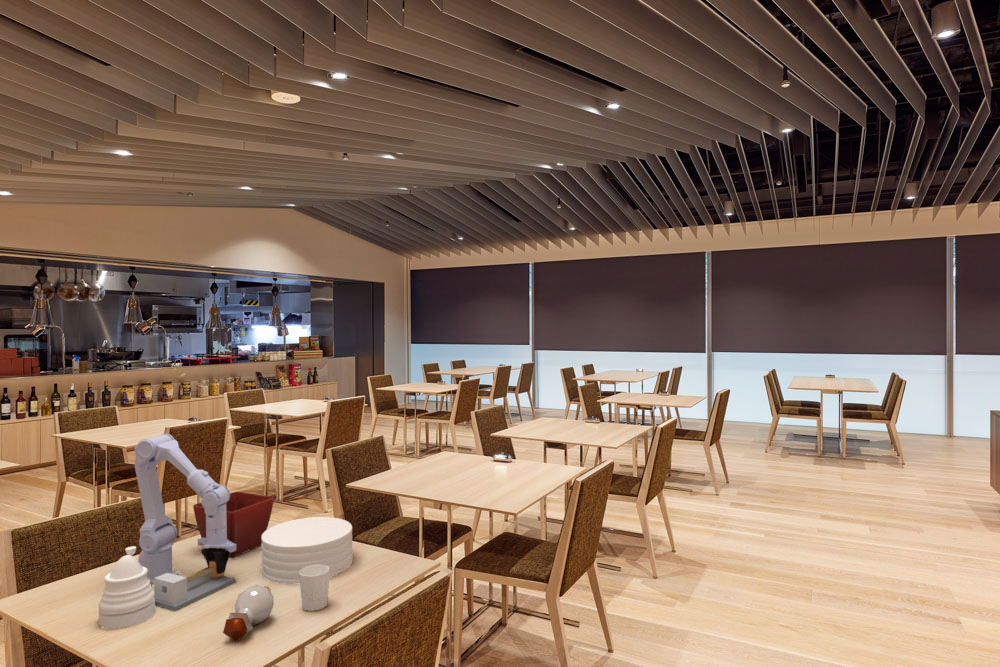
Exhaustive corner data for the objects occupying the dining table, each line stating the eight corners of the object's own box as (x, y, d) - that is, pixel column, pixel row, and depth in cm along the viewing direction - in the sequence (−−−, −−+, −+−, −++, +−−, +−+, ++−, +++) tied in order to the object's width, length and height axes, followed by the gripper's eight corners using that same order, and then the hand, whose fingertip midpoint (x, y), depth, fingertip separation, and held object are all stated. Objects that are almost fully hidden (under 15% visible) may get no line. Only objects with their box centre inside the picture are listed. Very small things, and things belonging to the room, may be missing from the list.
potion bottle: (269, 617, 163) (242, 653, 149) (239, 597, 163) (209, 631, 148) (286, 591, 162) (261, 626, 147) (256, 571, 162) (228, 603, 147)
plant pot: (276, 543, 215) (275, 496, 215) (232, 562, 198) (232, 512, 198) (237, 536, 223) (236, 491, 223) (192, 554, 206) (191, 505, 205)
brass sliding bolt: (182, 589, 175) (182, 572, 175) (217, 573, 186) (217, 557, 186) (189, 591, 173) (189, 573, 173) (224, 575, 184) (224, 558, 184)
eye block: (146, 602, 170) (146, 578, 169) (207, 575, 188) (207, 553, 188) (175, 611, 164) (175, 585, 164) (235, 582, 183) (235, 559, 182)
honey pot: (120, 605, 168) (118, 542, 168) (165, 606, 168) (163, 542, 167) (87, 629, 155) (85, 560, 155) (135, 629, 155) (134, 560, 154)
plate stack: (370, 560, 199) (370, 525, 199) (302, 592, 176) (301, 553, 176) (313, 544, 214) (313, 512, 214) (243, 572, 191) (242, 536, 191)
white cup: (303, 600, 170) (303, 565, 170) (332, 598, 171) (331, 563, 171) (296, 613, 163) (296, 576, 162) (326, 611, 163) (326, 575, 163)
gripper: (188, 528, 183) (189, 572, 183) (222, 534, 177) (223, 580, 177) (208, 521, 189) (209, 564, 190) (241, 527, 183) (242, 571, 183)
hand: (217, 571), depth 184 cm, fingers closed on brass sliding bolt, 3 cm apart
